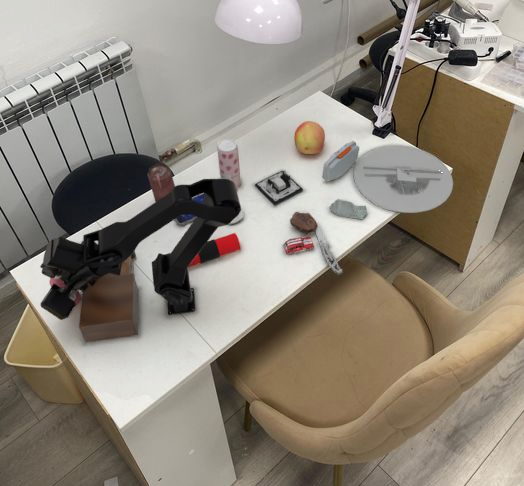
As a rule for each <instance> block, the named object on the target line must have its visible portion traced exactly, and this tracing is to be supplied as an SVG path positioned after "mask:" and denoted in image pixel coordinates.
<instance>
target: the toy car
mask: <svg viewBox="0 0 524 486" xmlns="http://www.w3.org/2000/svg"><path fill="white" fill-rule="evenodd" d="M313 249H315V244H314V241H313V239H312V237H311V236H306V237H301V236H299V237H294V238H289V239H288V240H287V239H286V240H285V241H284V243H283V245H282V250H283V252H284V255H289V256H291V255H292V254H295V253H298V252H303V251H312V250H313Z"/></svg>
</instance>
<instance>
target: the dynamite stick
mask: <svg viewBox="0 0 524 486" xmlns="http://www.w3.org/2000/svg"><path fill="white" fill-rule="evenodd" d="M241 247H242V246H241V242H240V240H239V237H238V235H237V233H236V232H233V233H230V234H227V235H224V236H221V237H218V238H216V239H215V238H214V239H209V240H208V241H207V242H206V244H205V245H204V246H203V248H202V249H201V250H200V252H199V253H198V254H197V256H196V257H195V258H194V260H193V261H192V262H191V263H190V265H189V266H188V268H191V267H194V266H198V265H200V264H201V265H202V264H205V263H208V262H210V261H213V260H216V259H219V258H221V257H223V256H225V255H226V256H227V255H229V254H231V253H235V252H237V251H241Z"/></svg>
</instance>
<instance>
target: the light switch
mask: <svg viewBox="0 0 524 486" xmlns="http://www.w3.org/2000/svg"><path fill="white" fill-rule="evenodd" d="M254 187H255V188H256V189H258V191H260V193H261V194H262V195H263V196H264V197H265V198H266V199H268V201H270V203H272V204H273V206H277V205H279V204H280V203H282V202H284V201H287V200H288V199H290V198H291V197H294V196H295V195H297V194H300V193H301V192H303V191H304V188H303V187H302V186H301V185H299V184H298V183H297V182H296V180H294V179H293V178H292V177H291V175H290V174H287V172H286V170H280V171H278V172H276V173H274V174H272V175H270V176H268V177H266V178H264V179H262V180H260V181H258V182H256V183H254Z"/></svg>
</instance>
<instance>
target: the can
mask: <svg viewBox="0 0 524 486" xmlns="http://www.w3.org/2000/svg"><path fill="white" fill-rule="evenodd" d="M147 178H148V181H149V185H150V189H151V191H152V194H153V198H154V203H155V202H157V201H158V200H160V199H161V198H163V197H164V196H166V195H167V194H169V193H170V192H171V191H172V189H173V188H174V187H175V186H176V185H175V182H174V177H173V174H172V170H171V168H170V167H169V166H168V165H167V164H165V163H157V164H154V165H152V166H151V167H150V168H149V169H148V172H147Z"/></svg>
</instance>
